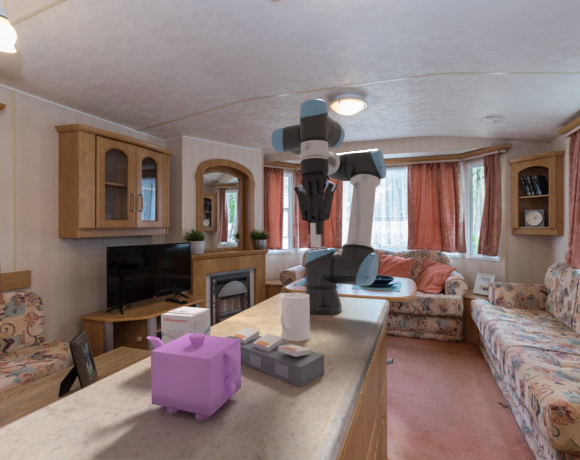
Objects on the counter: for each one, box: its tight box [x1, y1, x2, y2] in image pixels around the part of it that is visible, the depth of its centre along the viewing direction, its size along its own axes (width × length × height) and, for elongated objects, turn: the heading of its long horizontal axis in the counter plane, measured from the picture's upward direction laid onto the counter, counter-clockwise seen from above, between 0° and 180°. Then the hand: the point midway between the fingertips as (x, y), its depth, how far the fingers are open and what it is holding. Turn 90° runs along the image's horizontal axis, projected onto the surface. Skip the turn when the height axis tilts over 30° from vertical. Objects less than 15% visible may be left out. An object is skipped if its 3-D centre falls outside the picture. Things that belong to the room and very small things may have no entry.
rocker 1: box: [230, 326, 261, 344], centre depth 82 cm, size 5×5×1 cm
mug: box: [280, 292, 312, 342], centre depth 94 cm, size 12×8×12 cm
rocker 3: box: [278, 343, 312, 357], centre depth 72 cm, size 5×5×1 cm
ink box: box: [160, 306, 211, 345], centre depth 81 cm, size 9×8×12 cm
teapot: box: [146, 333, 242, 421], centre depth 60 cm, size 20×10×12 cm, turn 70°
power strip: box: [225, 335, 325, 388], centre depth 79 cm, size 8×32×4 cm, turn 49°
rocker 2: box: [253, 333, 284, 352], centre depth 77 cm, size 5×5×1 cm
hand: (315, 246), depth 90 cm, fingers closed
